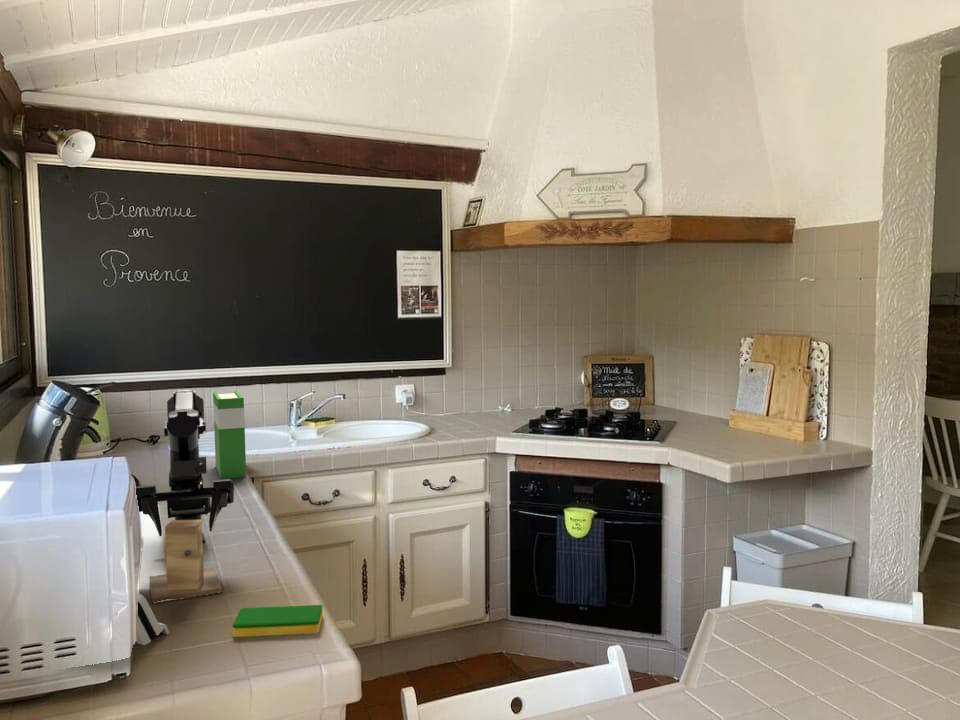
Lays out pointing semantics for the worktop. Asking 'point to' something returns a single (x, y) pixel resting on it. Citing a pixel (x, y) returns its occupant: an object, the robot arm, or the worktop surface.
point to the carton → (229, 435)
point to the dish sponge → (278, 620)
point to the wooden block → (184, 554)
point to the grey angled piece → (147, 622)
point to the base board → (162, 592)
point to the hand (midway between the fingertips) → (185, 532)
